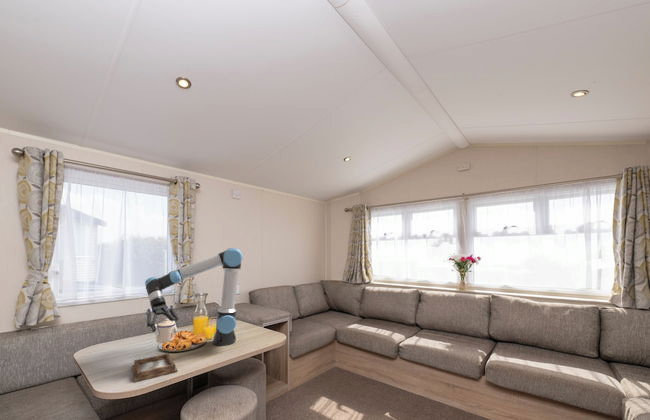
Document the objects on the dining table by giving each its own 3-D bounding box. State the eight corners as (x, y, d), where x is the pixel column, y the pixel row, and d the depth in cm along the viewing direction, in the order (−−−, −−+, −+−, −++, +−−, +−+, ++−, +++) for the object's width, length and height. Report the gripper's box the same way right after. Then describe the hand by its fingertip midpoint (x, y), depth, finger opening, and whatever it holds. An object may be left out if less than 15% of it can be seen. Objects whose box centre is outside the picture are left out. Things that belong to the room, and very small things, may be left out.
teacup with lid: (174, 341, 161) (175, 319, 162) (155, 344, 157) (157, 321, 158) (174, 335, 171) (175, 315, 173) (156, 337, 167) (157, 316, 168)
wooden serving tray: (169, 359, 173) (170, 352, 173) (177, 372, 155) (177, 364, 156) (131, 367, 161) (132, 360, 162) (135, 382, 144) (135, 374, 144)
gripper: (173, 301, 183) (183, 333, 172) (134, 307, 167) (143, 342, 155) (178, 294, 181) (188, 325, 169) (138, 298, 164) (147, 334, 152)
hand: (167, 333), depth 162 cm, fingers closed on teacup with lid, 9 cm apart
